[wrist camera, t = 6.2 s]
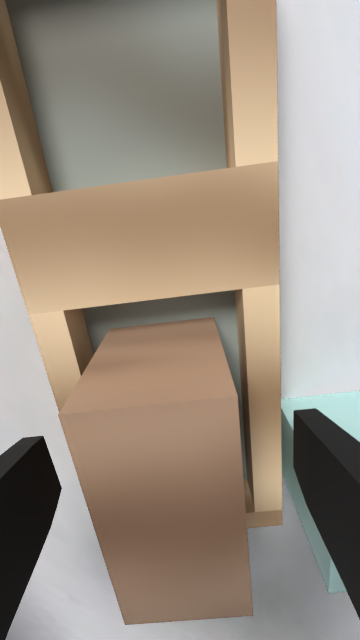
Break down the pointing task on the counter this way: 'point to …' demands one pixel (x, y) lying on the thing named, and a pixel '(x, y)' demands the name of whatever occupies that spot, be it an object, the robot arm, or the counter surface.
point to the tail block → (347, 412)
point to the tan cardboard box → (164, 471)
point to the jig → (148, 189)
